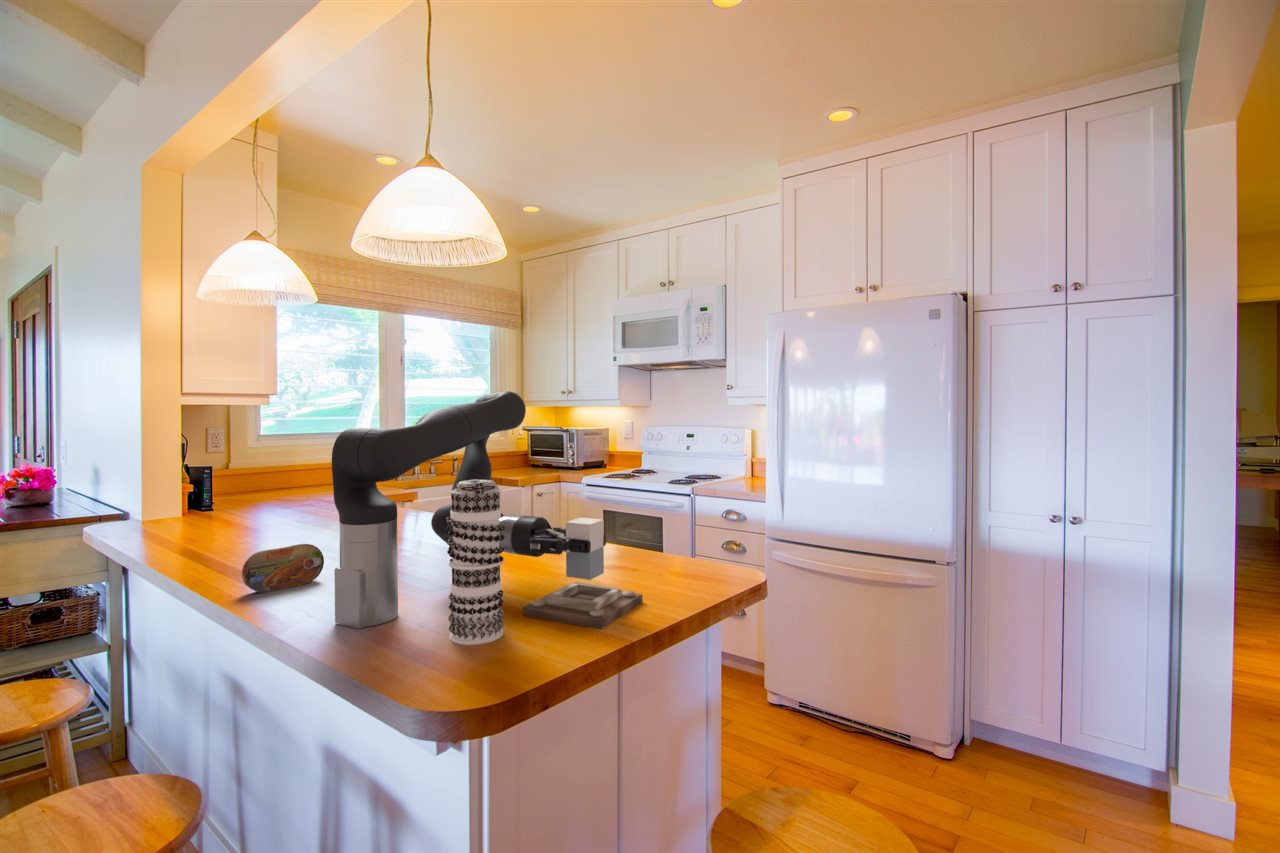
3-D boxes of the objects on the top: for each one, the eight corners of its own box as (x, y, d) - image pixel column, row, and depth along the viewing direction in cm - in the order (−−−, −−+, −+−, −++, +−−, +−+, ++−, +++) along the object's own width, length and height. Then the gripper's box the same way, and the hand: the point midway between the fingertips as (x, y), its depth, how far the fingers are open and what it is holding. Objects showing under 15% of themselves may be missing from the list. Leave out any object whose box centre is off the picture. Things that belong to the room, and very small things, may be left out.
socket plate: (601, 629, 100) (601, 611, 100) (522, 615, 107) (522, 598, 107) (642, 602, 115) (642, 586, 115) (570, 591, 122) (570, 576, 122)
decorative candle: (444, 629, 100) (443, 479, 100) (500, 622, 104) (500, 477, 103) (448, 649, 92) (447, 485, 91) (510, 640, 95) (509, 482, 95)
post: (590, 580, 108) (589, 524, 107) (566, 576, 110) (566, 522, 110) (603, 572, 112) (603, 519, 112) (580, 569, 114) (580, 517, 114)
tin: (246, 597, 118) (245, 554, 117) (239, 594, 120) (239, 552, 119) (325, 580, 130) (324, 541, 129) (318, 577, 132) (317, 539, 131)
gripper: (497, 522, 110) (576, 530, 103) (542, 510, 123) (616, 516, 116) (497, 562, 111) (577, 574, 103) (542, 546, 124) (616, 555, 116)
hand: (597, 543), depth 110 cm, fingers closed on post, 5 cm apart
